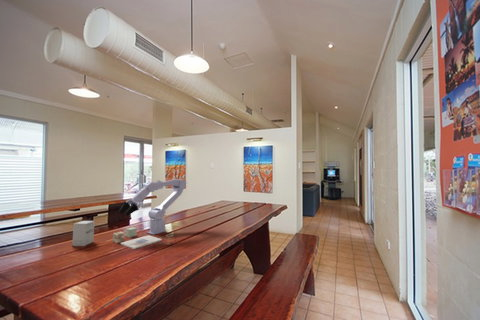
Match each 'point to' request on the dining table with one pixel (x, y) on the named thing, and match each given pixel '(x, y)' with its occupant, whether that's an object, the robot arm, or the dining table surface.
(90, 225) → the supplement box
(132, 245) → the white flat slab
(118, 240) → the maple block
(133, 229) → the sage block
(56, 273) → the dining table surface
